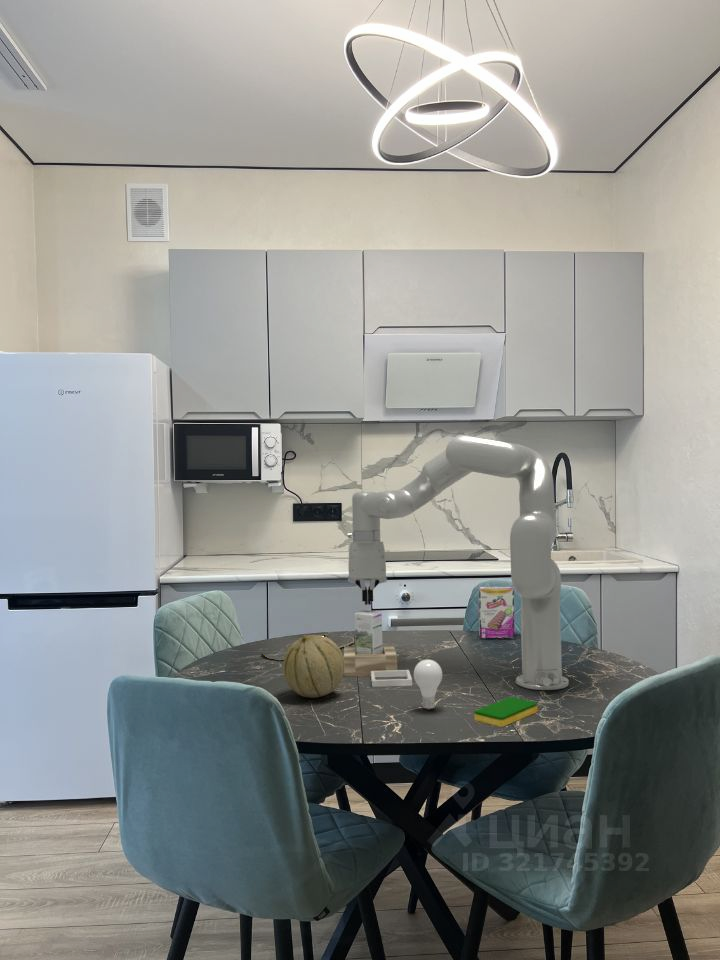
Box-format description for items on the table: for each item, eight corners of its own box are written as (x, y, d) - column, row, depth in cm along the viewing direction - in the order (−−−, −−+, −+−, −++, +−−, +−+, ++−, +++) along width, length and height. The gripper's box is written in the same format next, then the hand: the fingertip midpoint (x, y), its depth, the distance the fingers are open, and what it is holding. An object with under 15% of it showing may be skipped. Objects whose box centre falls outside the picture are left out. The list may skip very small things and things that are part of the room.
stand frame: (412, 685, 185) (412, 679, 185) (372, 686, 185) (372, 680, 185) (409, 675, 195) (408, 669, 195) (370, 676, 195) (370, 670, 195)
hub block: (397, 674, 196) (396, 655, 196) (344, 676, 195) (343, 657, 196) (394, 662, 210) (393, 644, 210) (344, 663, 209) (344, 646, 210)
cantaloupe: (355, 691, 181) (353, 629, 181) (328, 708, 168) (326, 641, 168) (302, 686, 187) (300, 626, 187) (271, 701, 174) (270, 637, 174)
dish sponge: (473, 722, 157) (473, 710, 157) (510, 707, 166) (510, 696, 166) (502, 729, 152) (501, 717, 152) (538, 713, 161) (538, 702, 161)
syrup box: (384, 663, 204) (382, 610, 204) (373, 668, 199) (371, 614, 199) (366, 661, 207) (364, 609, 207) (355, 666, 201) (353, 612, 202)
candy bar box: (479, 640, 237) (478, 588, 237) (479, 636, 242) (477, 586, 242) (515, 639, 236) (514, 588, 236) (513, 636, 241) (512, 586, 241)
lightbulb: (415, 705, 168) (413, 656, 168) (443, 705, 168) (441, 656, 168) (414, 713, 162) (412, 663, 162) (443, 713, 161) (442, 663, 161)
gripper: (339, 538, 199) (340, 606, 199) (394, 537, 199) (396, 605, 199) (339, 536, 207) (340, 602, 207) (393, 535, 207) (394, 601, 207)
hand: (367, 603), depth 203 cm, fingers closed
